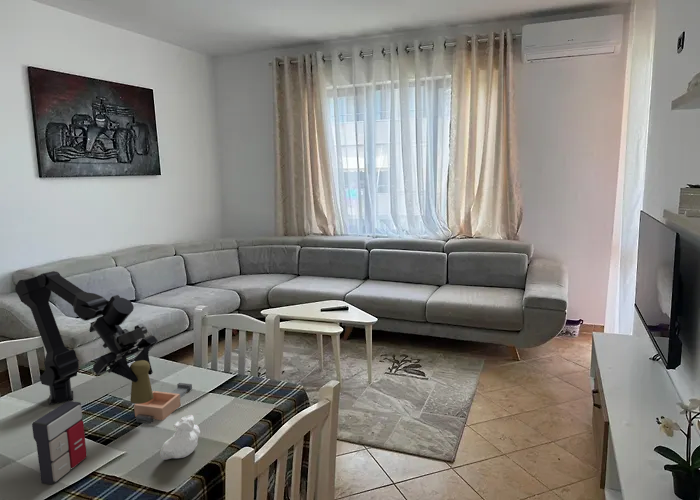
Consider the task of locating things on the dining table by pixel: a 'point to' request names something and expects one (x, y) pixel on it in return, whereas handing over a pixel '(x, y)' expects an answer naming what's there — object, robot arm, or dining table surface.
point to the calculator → (59, 441)
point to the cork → (141, 383)
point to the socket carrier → (159, 405)
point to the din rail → (181, 390)
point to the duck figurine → (181, 439)
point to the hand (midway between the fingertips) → (144, 377)
